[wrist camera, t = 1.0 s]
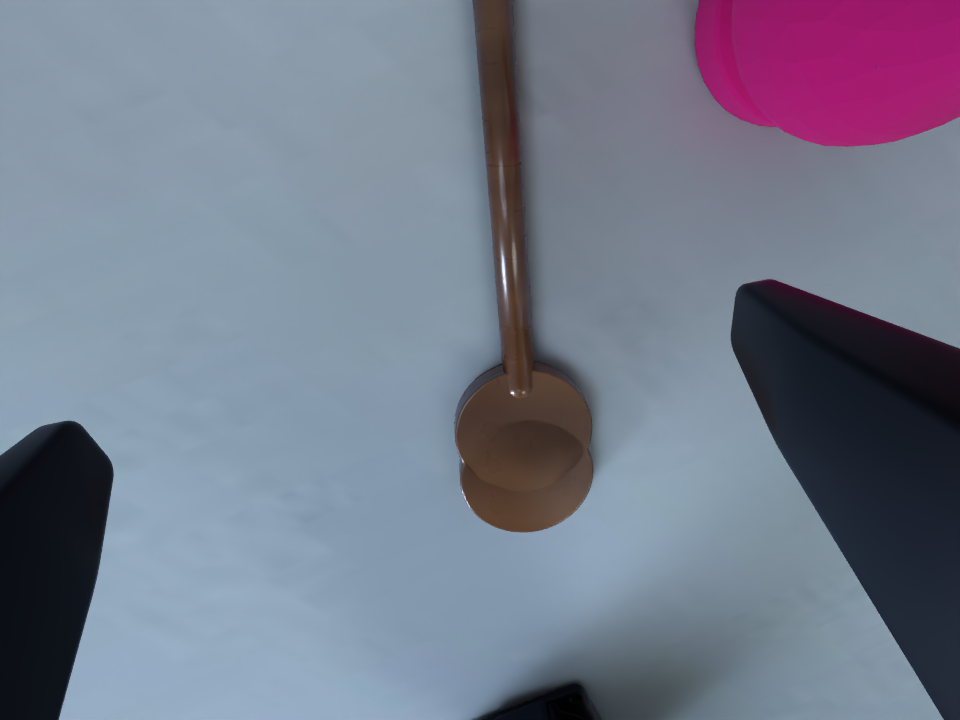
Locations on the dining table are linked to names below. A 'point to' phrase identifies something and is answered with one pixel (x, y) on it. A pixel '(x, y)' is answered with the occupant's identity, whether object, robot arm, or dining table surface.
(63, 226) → the dining table surface
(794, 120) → the pepper mill
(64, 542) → the robot arm
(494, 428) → the spoon
